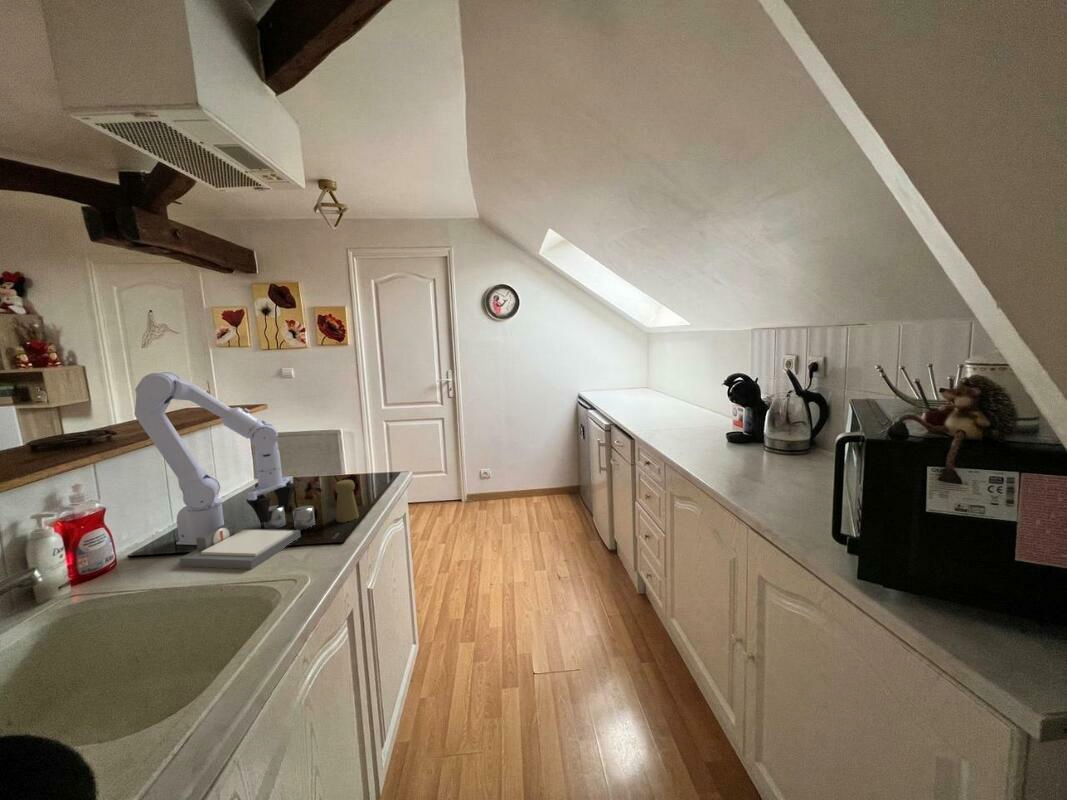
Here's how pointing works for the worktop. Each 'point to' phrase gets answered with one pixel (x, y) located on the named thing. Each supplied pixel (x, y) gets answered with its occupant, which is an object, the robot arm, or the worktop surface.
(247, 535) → the kitchen scale
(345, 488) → the cork
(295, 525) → the cylinder
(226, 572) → the worktop surface
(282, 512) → the cylinder
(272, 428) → the robot arm
